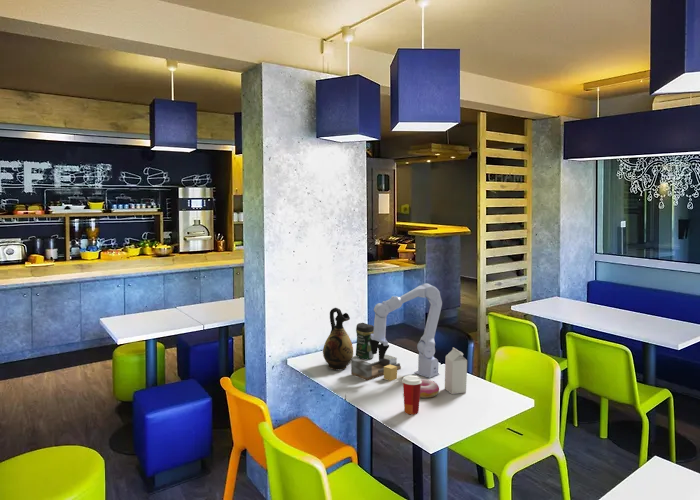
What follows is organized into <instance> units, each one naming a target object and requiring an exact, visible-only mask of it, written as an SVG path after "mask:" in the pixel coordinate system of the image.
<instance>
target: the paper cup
mask: <svg viewBox="0 0 700 500" xmlns="http://www.w3.org/2000/svg"><path fill="white" fill-rule="evenodd" d="M421 379H422V378H421V377H420V376H417V375H411V374H410V375H405V376H404V377H403V378H402V380H401V382H402V384H403V406H404V407H403V408H404V410H403V411H404V413H405V414H407V415H409V416H410V415H413V416H414V415H418V414H419V408H420V400H421V398H420V387H421V383H422V381H421Z"/></svg>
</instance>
